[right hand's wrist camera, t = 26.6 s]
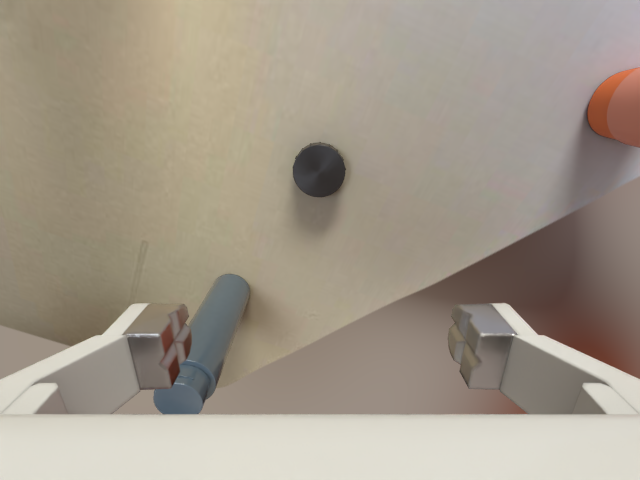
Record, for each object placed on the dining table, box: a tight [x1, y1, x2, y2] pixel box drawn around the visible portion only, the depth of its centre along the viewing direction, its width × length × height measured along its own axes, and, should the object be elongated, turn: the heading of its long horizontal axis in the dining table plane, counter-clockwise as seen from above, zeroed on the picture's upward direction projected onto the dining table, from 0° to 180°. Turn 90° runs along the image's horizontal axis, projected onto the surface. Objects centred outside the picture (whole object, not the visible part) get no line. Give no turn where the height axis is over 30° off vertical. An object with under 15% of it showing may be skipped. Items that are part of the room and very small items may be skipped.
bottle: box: [154, 274, 250, 414], centre depth 34 cm, size 5×5×17 cm
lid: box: [293, 142, 346, 197], centre depth 35 cm, size 5×5×2 cm
